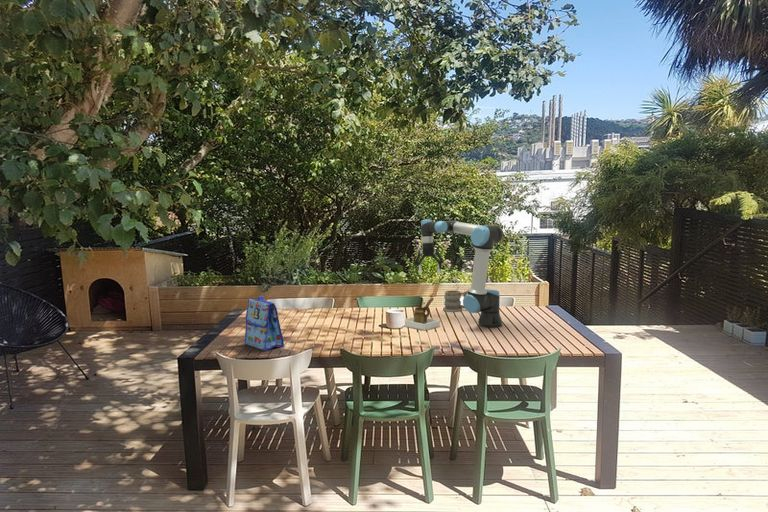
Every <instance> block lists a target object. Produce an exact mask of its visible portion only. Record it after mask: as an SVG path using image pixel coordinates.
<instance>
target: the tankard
mask: <svg viewBox="0 0 768 512" xmlns="http://www.w3.org/2000/svg"><path fill="white" fill-rule="evenodd" d="M461 295H462V296H463V298H464V297H465V296H466V295H468V290H467V291H464V292H461V291H459V290H446V291H445V292H444V295H443V296H444V297H443V298H444V302H443V303H444V307H443V312H446V313H459V312H461V311H462V310H463V309H465V307H464V305H462V301H461V298H462V296H461Z"/></svg>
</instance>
